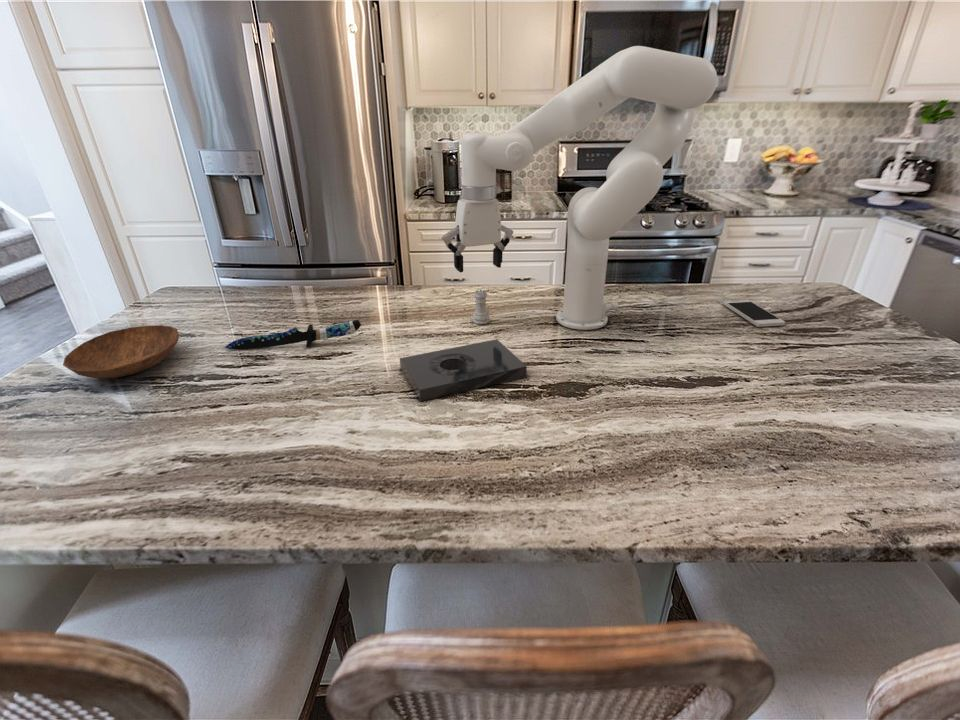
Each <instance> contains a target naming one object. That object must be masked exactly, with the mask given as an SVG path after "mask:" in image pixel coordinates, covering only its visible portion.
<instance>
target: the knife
mask: <svg viewBox="0 0 960 720" xmlns="http://www.w3.org/2000/svg"><path fill="white" fill-rule="evenodd" d="M361 326H362V323H361V322H360V319H354V320H349V321H345V322H343V323H339V324H335V325H330V326H327V327H324V328H319V329H314V325H313V324H308V327H307V329H306V331H301V330H298V328H297V327H296V326H295V327H293V328H291V329H289V330H286V331H282V332H277V333H271V334H262V335H253V336H246V337H245V336H244V337H241V338H237V339H235V340H233V341H231V342H230V343H228V344H227V345H226V346H225V349H228V350H237V351H238V350H239V351H240V350H255V349H265V348H273V347H279V346H285V345H292V344H297V343H302V342H306V348H310V347H311V345H312V343H313V342H317V341H321V340H326V339H327V340H328V339H332V338H337V337H343V336H348V335H349V336H350V335H354V334H355V333H356V332H358V330H359V329H360V328H361Z"/></svg>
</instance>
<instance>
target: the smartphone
mask: <svg viewBox="0 0 960 720" xmlns="http://www.w3.org/2000/svg"><path fill="white" fill-rule="evenodd" d="M723 305H724V306H725V307H727V308H728V309H730V310H731V311H733V312H734V313H735V314H737V315H738V316H740V317H742V318H743V319H745V320H746V321H748V322H749V323H751V324H752V325H754V326H755V327H757V328H760V327H762V328H763V327H778V326H785V324H786V321H785V320H783V319H782V318H780V317H778V316H777V315H776V314H773V313H772V312H770V311H768V310H766V309H765V308H764V307H761V306H760V305H758V304H756V303H755V302H753V301H752V300H750V299H741V300H740V299H739V300H724V301H723Z"/></svg>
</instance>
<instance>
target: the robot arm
mask: <svg viewBox="0 0 960 720" xmlns="http://www.w3.org/2000/svg"><path fill="white" fill-rule="evenodd" d="M717 73H718V72H717V70H716V68H715V66H714V64H712V63H711V62H710V61H709V60H708V59H706V58H703V57H700V56H695V55H689V54H684V53H679V52H674V51H668V50H663V49H659V48H654V47H649V46H644V45H634V46H633V45H632V46H630V47H627V48H625V49H622V50H620V51H618V52H616V53H615V54H613V55H612V56H610V57H609V58H607V59H606V60H604V61H602V62H601V63H600V64H598V65H597V66H596V67H595V68H593V69H592V70H590V71H589V72H587V73H586V74H584V75H583V76H581V77H580V78H579V79H577V80H576V81H575V82H573V83H571V84H570V85H568V86H567V87H566V88H565V89H563V90H562V91H561V92H559V93H557V94H556V95H555V96H554V97H552V98H551V99H550V100H548V102H547V103H545V104H544V105H542V106H541V107H539V108H538V109H536V110H535V111H533V112H532V113H531V114H529V115H528V116H526V117H524V118H523V119H522V120H521V121H519V122H517V123H516V124H515V125H513V126H512V127H511V128H509V129H508V130H506V131H505V132H504V133H502V134H494V133H491V132H485V131H484V132H480V131H479V132H478V131H477V132H476V131H475V132H473V131H472V132H466V133H464V134H463V135H462V137H461V141H460V142H461V143H460V151H461V152H460V153H461V158H460V159H461V164H460V165H461V199H458V200H457V204H456V212H455V222H454V228H452V229H451V230H449V231H448V232H447V233H445V234H443V235H442V236H441V237H442V240H443V243H444V244H445V246H446V248H447V249H448V250H450V251H451V252H452V253H453V265H454V268H455V270H456V271H457V272H458V273H463V272H464V255H462V253H463V252H464V250H465V249H466V247H467V248H468V247H469V248H470V247H479V246H488V245H493V246H494V248H493V249H492V265H493V266H494V267H497V268H498V269H500V268H502V263H503V251H505V248H506V247H507V245H508V244H509V243H510V240H511V239H512V236H513V234H514V230H513V229H511V228H509V227H507V226H504V225H503V224H502V219H501V210H500V204H499V199H498V198H497V194H500V193H502V189H501V186H498V185H497V170H504V171H511V172H519V171H522V170H524V169H526V168H527V167H528V166H529V165H530V164H531V162H532V159H533V157H534V155H535V154H536V153H538V152H539V151H541V150H543V149H544V148H546V147H547V146H548V145H550V144H552V143H553V142H556V141H557V140H559V139H561V138H564V137H567V136H570V135H574V134H576V133H579V132H580V131H582V130H583V129H585V128H588V126H590V125H591V124H593V123H594V122H596V121H597V120H599V119H600V118H602V117H603V116H605V114H606V115H607V113H609V112H610V111H611V110H614V109H615V108H616V107H618V106H619V105H621V104H622V103H624V102H625V101H626V100H628V99H630V98H632V99H637V100H642V101H646V102H651V103H655V107H654V111H653V114H652V115H651V118H650V120H649V121H648V122H647V124H646V125H645V126H644V127H643V128H642V129H641V130H640V132H638V134H637V135H636V136H635V137H634V138H633V139H632V140H631V141H630V142H629V143H628V144H627V145H626V146H625V147H624V148H623V149H622V150H621V151H620V152H619V153H618V154H617V155H615V156H614V158H613V159H612V160H611V161H610V163H609V164H608V166H607V169H606V173H605V174H606V175H605V178H606V180H605V181H604V183H602V185H600V187H595V186H587V187H584V188H582V189H580V190H578V191H577V192H576V193H574V195H573V196H572V198H571V199H570V201H569V204H568V207H567V219H566V220H567V222H566V223H567V242H566V256H565V257H566V259H565V274H564V286H563V287H564V289H563V305H562V309H561V310H559V311H558V312H557V313H556V315H555V320H556V322H557V323H558V324H559V325H561V326H563V327H565V328H569V329H572V330H579V331H590V330H591V331H592V330H597V329H601V328H603V327H605V326H606V325H607V324H608V320H609V318H608V315H607V313H608V312H609V311H616V310H618V309H619V307H620V306H619V303H618V302H617V301H613V302H608V300H604V298H605V296H604V295H605V288H606V278H607V277H606V276H607V267H608V258H609V249H610V248H609V247H610V238H612V237H613V236H614V235H615V234H617V233H618V232H620V230H622V229H623V228H624V227H625V226H626V225H627V224H628V223H629V222H630V221H631V220H632V219H633V218H634V217H635V216H636V215H637V214H638V213H640V212H641V211H642V210H643V208H645V206H646V205H648V204H649V203H650V201H652V199H654V197H655V196H656V195H657V194H658V192H659V190H660V188H661V187H662V185H663V181H664V168H663V167H664V166H665V164H667V162H668V161H669V160H670V159H671V158H672V157H673V156H674V155H675V154H676V153H677V152H678V150H679V149H680V148H681V147H682V146H683V145H684V143H685V142H686V140H687V139H688V137H689V135H690V132H691V131H692V126H693V122H694V119H695V112H696V109H697V108H700V107H701V106H703V105H705V104H706V103H707V102H708V101H709V100H710V99H711V98H712V96H713V95H714V94H715V91H716V88H717V84H718V74H717ZM502 232H503V233H504V235H503V237H502ZM453 238H454V241H455V242H456V243H455V244H453V242H452V239H453Z"/></svg>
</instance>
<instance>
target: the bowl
mask: <svg viewBox="0 0 960 720" xmlns="http://www.w3.org/2000/svg"><path fill="white" fill-rule="evenodd" d="M179 337H180V335H179V331H178V329H177V328H176V327H173V326H170V325H156V324H155V325H141V326H133V327H132V326H131V327H127V328H122V329H117V330H112V331H108V332H106V333H103V334H100V335H98V336H95V337H92V338H91V339H89V340H87V341H85V342H82V343H81V344H80V345H78V346H77V347H75V348H74V349H72V350H71V351H70V352H69V353H68V354H67V355H66V356H64V360H63V363H62V366H63V367H65V368H66V369H68V370H69V371H71V372H73V373H74V374H76V375H78V376H82V377H87V378H93V379H99V380H100V379H115V378H120V377H127V376H133V375H135V374H138V373H141V372H144V371H146V370H148V369H151V368H153V367H154V366H156V365H158V364H160V363H161V362H162V361H164V359H165V358H166V357H167V356H169V354H171V353H172V352H173V350H175V347H176V345H177V343H178V342H179Z"/></svg>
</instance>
